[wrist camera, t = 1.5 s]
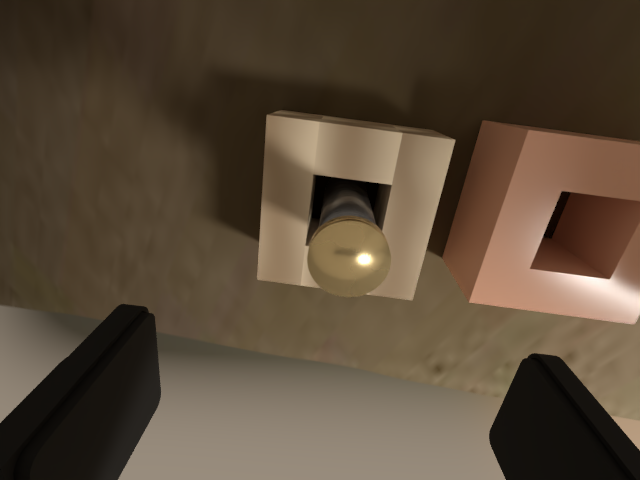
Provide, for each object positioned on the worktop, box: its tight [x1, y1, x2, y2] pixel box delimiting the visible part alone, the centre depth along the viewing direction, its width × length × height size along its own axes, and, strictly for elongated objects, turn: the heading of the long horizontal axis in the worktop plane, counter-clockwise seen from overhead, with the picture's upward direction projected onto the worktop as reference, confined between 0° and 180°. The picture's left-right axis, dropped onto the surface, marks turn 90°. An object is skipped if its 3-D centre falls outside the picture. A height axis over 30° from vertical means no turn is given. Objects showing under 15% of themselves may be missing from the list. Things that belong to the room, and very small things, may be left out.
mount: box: [257, 110, 456, 300], centre depth 23 cm, size 10×10×5 cm
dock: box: [442, 120, 640, 324], centre depth 22 cm, size 10×10×6 cm
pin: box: [307, 177, 391, 297], centre depth 20 cm, size 4×4×11 cm
